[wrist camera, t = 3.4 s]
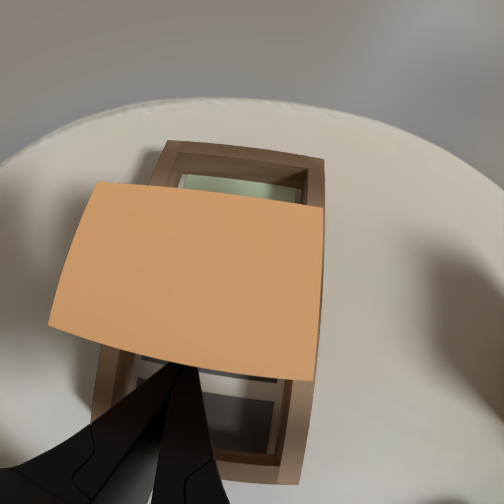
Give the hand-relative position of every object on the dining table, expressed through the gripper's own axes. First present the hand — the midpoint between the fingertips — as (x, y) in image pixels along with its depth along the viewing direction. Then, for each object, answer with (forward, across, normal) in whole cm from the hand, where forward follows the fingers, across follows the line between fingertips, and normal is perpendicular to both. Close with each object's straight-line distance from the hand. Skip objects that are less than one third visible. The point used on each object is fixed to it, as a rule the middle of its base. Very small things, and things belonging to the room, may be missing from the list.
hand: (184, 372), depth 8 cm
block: (+6, 0, +3) cm, 6 cm away
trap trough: (+9, 0, +2) cm, 9 cm away
